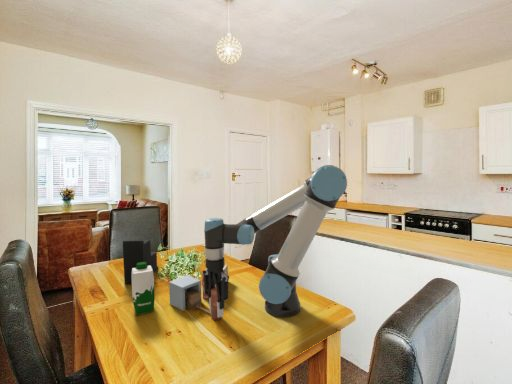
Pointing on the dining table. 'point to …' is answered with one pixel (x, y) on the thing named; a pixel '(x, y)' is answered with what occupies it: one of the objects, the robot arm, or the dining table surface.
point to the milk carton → (143, 288)
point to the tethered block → (195, 302)
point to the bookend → (137, 257)
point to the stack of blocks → (215, 284)
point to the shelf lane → (182, 290)
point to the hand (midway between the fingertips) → (216, 314)
